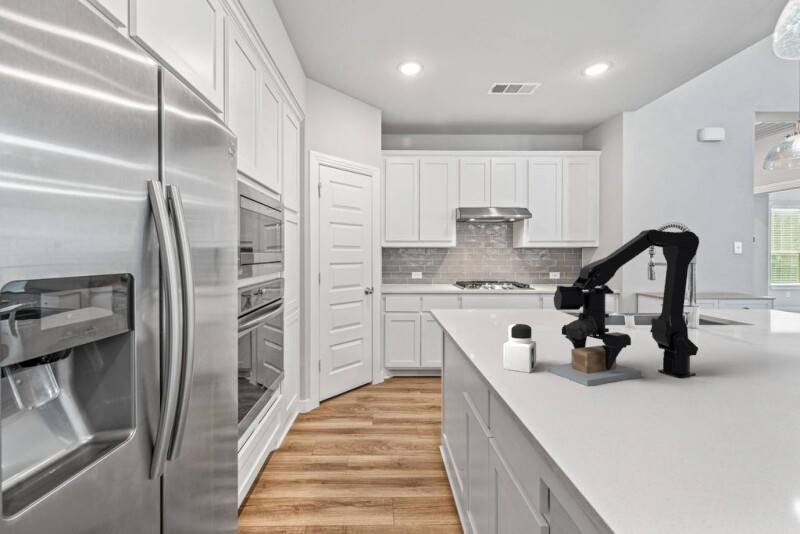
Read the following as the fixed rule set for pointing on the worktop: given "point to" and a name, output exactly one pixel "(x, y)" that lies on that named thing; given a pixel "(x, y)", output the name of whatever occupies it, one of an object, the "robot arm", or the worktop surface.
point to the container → (519, 349)
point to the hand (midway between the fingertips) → (593, 365)
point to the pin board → (595, 374)
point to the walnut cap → (590, 359)
